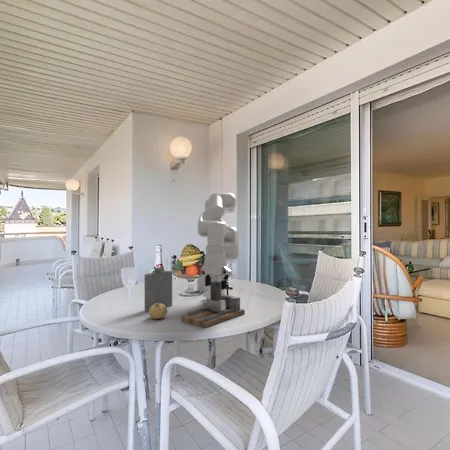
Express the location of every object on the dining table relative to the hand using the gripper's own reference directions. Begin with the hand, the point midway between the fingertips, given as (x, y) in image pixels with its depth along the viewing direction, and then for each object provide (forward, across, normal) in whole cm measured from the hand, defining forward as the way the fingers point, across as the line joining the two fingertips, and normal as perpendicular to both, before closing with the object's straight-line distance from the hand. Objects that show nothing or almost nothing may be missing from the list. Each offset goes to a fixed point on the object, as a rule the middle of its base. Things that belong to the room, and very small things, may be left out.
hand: (215, 287), depth 144 cm
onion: (+13, -17, -19) cm, 29 cm away
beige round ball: (+9, +1, +4) cm, 10 cm away
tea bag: (+15, -41, +33) cm, 55 cm away
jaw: (+10, +1, -1) cm, 10 cm away
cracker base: (+13, +1, -2) cm, 13 cm away
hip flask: (+14, -30, -9) cm, 34 cm away
